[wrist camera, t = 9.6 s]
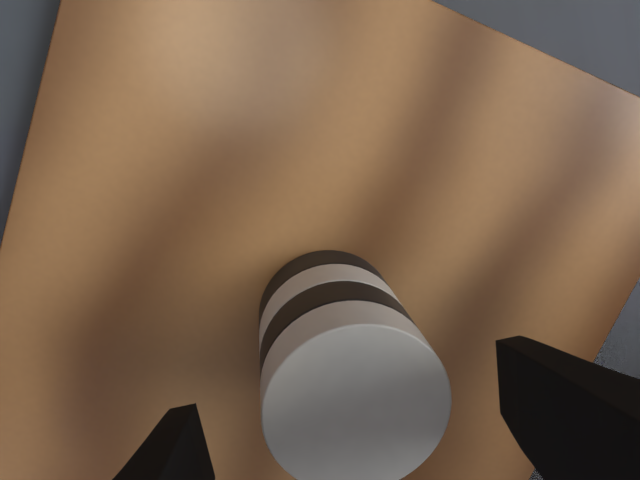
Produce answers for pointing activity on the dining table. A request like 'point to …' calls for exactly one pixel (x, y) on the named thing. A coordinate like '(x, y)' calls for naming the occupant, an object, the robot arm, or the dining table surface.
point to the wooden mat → (296, 216)
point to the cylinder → (346, 374)
